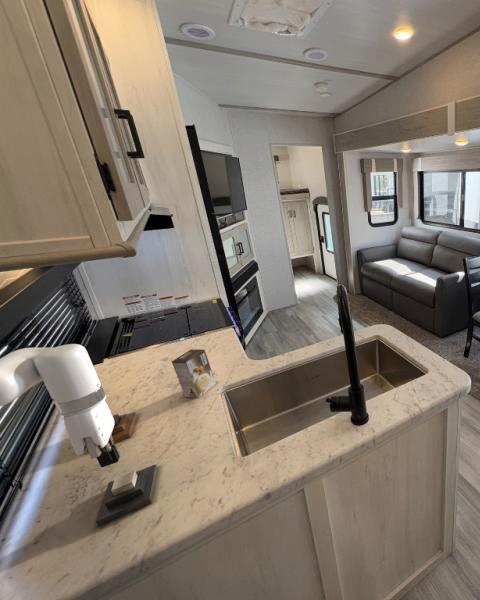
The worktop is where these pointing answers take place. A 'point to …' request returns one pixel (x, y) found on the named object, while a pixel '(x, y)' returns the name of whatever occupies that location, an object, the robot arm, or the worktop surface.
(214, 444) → the worktop surface
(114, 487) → the white key
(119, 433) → the brown stepped pedestal
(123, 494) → the black stepped pedestal
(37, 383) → the robot arm
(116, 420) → the black key
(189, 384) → the coffee box
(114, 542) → the worktop surface
